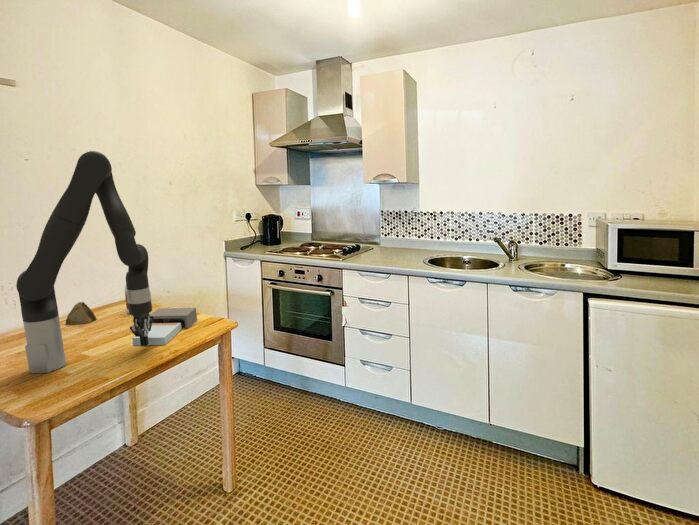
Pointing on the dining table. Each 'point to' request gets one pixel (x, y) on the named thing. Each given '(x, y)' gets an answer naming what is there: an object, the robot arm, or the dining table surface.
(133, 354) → the dining table surface
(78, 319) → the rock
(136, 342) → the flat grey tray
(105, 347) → the dining table surface
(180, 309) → the low shelf
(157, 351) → the dining table surface
